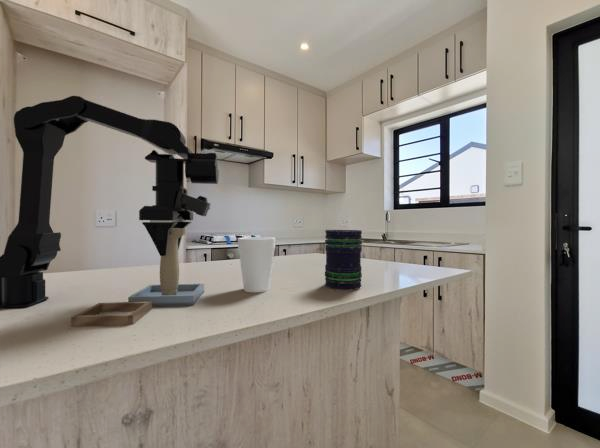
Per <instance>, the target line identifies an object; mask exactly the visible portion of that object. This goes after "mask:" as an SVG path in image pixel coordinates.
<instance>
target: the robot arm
mask: <svg viewBox="0 0 600 448" xmlns="http://www.w3.org/2000/svg"><path fill="white" fill-rule="evenodd" d="M88 122H90V123H93V124H97V125H99V126H101V127H106V128H108V129H110V130H114V131H117V132H120V133H124V134H126V135H129V136H132V137H135V138H138V139H141V140H142V141H144V142H146V143H148V144H150V145H151V146H153V147H155V148H157V149H158V150H161V151H162V152H165V153H159V152H158V151H157V150H155V149H152V151H151V152H149V154H147V155H146V156H144V159H145V160H146V161H147V162H150V163H155V185H152V186H151V187H152V188H151V189H152V192H155V205H154V204H153V205H143V206H142V208H140V209H139V211H138V219H139V221H143V222H141V224H142V225H143V226H144V227H145V229H146V231H147V233H148V235H149V237H150V238H151V240H152V243H153V245H154V246H155V248H156V251H157V253H158V254H159V256H160V257H161V256H166V253H167V248H168V241H169V235H170V230H171V229H172V228H185V229H186V228H187V227H188V226H189V225H191V224H192V221H193V220H194V213H195V215H198V216H202V217H207V215H208V212H209V210H210V209H211V207H210V206H211V203H210V202H208V198H207V197H206V196H202V195H198V197H193V196H190V195H188V189H186V187H184V185H185V184H184V183H185V179H184V178H186V179H187V180H188V179H189V180H190V183H191V184H202V185H203V184H206V185H207V184H208V185H218V184H219V178H220V177H219V174H220V173H219V168H218V155H217V154H216V153H215V152H207V153H201V152H193V151H192V150H191V149H190V148H189V147H188V146H187V145H186V144H187V140H186V137H185V136H184V134H183V132H182V131H181V130H180V128H178V126H177V125H175V124H174V123H172V122H170V121H165V120H161V119H152V118H151V119H150V118H149V119H145V118H141V117H136V116H134V115H130V114H127V113H126V112H122V111H119V110H116V109H113V108H111V107H109V106H105V105H102V104H99V103H96V102H93V101H91V100H87V99H85V98H83V97H82V96H80V95H79V96H78V95H70V96H68V97H65V98H62V99H58V100H51V101H50V100H49V101H44V102H40V103H37V104H34V105H32V106H24V107H22V108H20V109H19V110H16V112H15V113H14V114H13V127H14V134H15V139H16V140H17V142H18V144H19V146H20V148H21V150H22V165H21V166H22V168H21V180H20V195H19V206H18V207H19V208H18V222H17V224H16V225H15V226H14V228H13V230H12V231H11V233H10V234H9V235H8V237H7V240H6V244H5V247H4V251H3V254H2V255H0V309H1V308H6V309H7V308H27V307H30V306H33V305H36V304H39V303H40V302H44V301H46V300H48V299H49V296H46V280H45V278H44V272H45V271H47V270H48V269H49V266H50V265H51V262H52V261H54V260H55V259H56V258H57V255H58V252H61V251H62V250H61V247H60V242H61V238H62V234H61V232H54V231H53V228H52V226H51V225H50V221H51V219H50V218H51V203H52V189H53V177H54V165H55V164H54V162H55V157H56V156H57V155H58V153H59V152H60V150H61V149H62V147H63V145H64V141H65V138H66V136H68V135H70V134H71V133H72V134H73V133H75V132H76V131H77V130H78V129H80V128H81V126H83V125H84V124H86V123H88ZM166 153H167V154H166ZM174 155H175V156H176V155H177V156H179V157H181V158H175V156H174ZM148 221H149V222H148ZM182 239H183V236H181V237H179V238H178V251H179V249H180V245H181V241H182Z"/></svg>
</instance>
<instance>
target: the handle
mask: <svg viewBox="0 0 600 448" xmlns="http://www.w3.org/2000/svg"><path fill="white" fill-rule="evenodd" d="M185 234H186V228H172V229H171V230H170V235H169V241H168V248H167V253H166V256H160V263H159V281H160V282H159V283H160V284H159V285H161V289H162V291H161V293H162V295H177V288H178V284H180V283H179V282H180V261H179V260H180V259H179V250H178V238H179V237H181V236H182V237H183V236H184V235H185Z"/></svg>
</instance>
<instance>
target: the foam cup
mask: <svg viewBox="0 0 600 448" xmlns="http://www.w3.org/2000/svg"><path fill="white" fill-rule="evenodd" d="M275 248H276V237H269V236H265V237H264V236H256V237H255V236H247V237H238V238H237V249H238V253H239V260H240V261H239V262H240V269H241V276H242V283H243V285H242V286H243V290H244V292H247V293H264V292H265V293H266V292H267V291H270V287H271V286H270V285H271V278H272V271H273V264H274V255H275Z"/></svg>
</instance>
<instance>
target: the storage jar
mask: <svg viewBox="0 0 600 448" xmlns="http://www.w3.org/2000/svg"><path fill="white" fill-rule="evenodd" d="M362 234H363V233H362V230H361V229H360V230H357V229H325V239H324V244H325V246H324V247H325V248H324V249H325V259H326V260H325V261H326V263H325V265H324V267H325V268H324V270H325V271H324V277H325V278H324V279H325V283H324V286H325V287H326V288H327V289H328V288H329V289H331V290H337V289H338V290H339V291H350V290H349V289H355V290H357V289H356V288H359V289H360V287H361V288H362V275H363V273H362V266H361V265H362V264H361V261H362V260H361V259H362V257H361V253H362V250H363V248H362V245H363V240H362V239H363V238H362V237H363V236H362Z"/></svg>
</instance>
